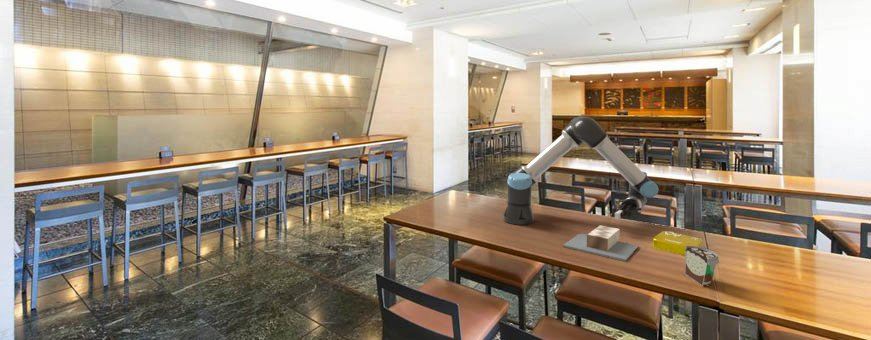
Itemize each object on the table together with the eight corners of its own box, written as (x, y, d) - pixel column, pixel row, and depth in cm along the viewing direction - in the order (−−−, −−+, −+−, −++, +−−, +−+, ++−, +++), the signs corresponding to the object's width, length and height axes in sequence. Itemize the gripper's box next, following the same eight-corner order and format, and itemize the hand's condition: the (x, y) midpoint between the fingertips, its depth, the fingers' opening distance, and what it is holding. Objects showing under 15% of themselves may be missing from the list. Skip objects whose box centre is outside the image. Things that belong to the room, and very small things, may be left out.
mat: (563, 246, 161) (563, 244, 160) (579, 235, 175) (580, 233, 175) (625, 261, 145) (625, 259, 145) (638, 247, 160) (638, 245, 159)
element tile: (650, 248, 159) (651, 237, 158) (662, 239, 170) (663, 229, 169) (693, 258, 149) (694, 246, 148) (702, 248, 159) (704, 237, 158)
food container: (725, 289, 123) (729, 259, 122) (705, 288, 124) (709, 259, 122) (700, 272, 136) (703, 245, 134) (682, 272, 136) (685, 245, 134)
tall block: (599, 236, 171) (586, 246, 159) (600, 225, 170) (587, 234, 158) (618, 240, 166) (606, 251, 154) (619, 229, 165) (607, 238, 153)
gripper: (645, 215, 188) (631, 227, 170) (616, 210, 196) (600, 221, 178) (646, 200, 186) (633, 210, 169) (617, 196, 195) (601, 205, 177)
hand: (616, 216), depth 173 cm, fingers closed
